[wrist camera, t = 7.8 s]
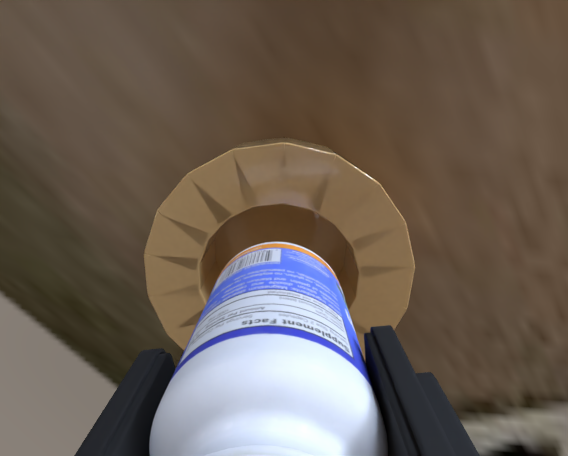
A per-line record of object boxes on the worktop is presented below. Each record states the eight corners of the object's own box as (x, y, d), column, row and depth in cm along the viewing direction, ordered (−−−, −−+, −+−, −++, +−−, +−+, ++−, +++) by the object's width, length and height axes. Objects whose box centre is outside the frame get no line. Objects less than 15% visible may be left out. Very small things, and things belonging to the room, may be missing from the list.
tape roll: (148, 155, 17) (109, 165, 14) (386, 123, 17) (414, 124, 13) (197, 348, 21) (177, 398, 17) (392, 328, 21) (416, 376, 17)
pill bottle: (320, 362, 15) (374, 746, 6) (203, 336, 15) (62, 704, 5) (358, 254, 13) (517, 552, 4) (227, 222, 13) (84, 473, 4)
